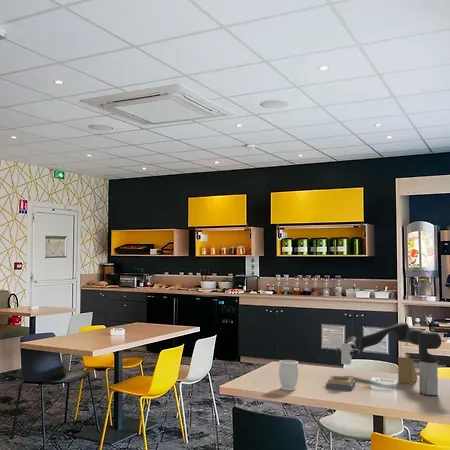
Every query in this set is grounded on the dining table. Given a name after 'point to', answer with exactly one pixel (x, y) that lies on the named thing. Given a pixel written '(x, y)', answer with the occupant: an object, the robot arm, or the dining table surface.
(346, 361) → the grey bottle
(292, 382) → the jar
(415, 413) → the dining table surface
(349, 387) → the charcoal dock
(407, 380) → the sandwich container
